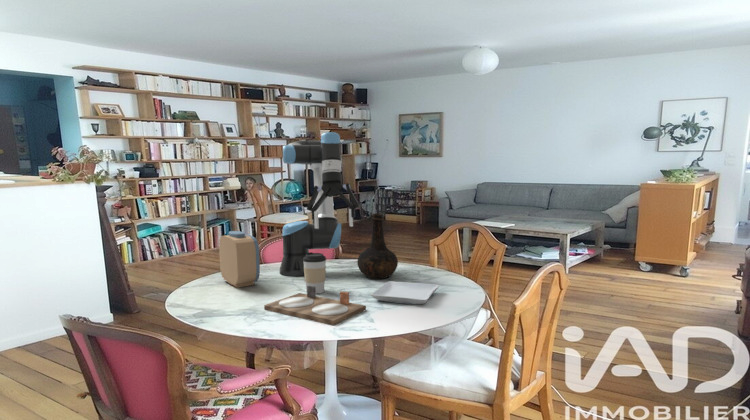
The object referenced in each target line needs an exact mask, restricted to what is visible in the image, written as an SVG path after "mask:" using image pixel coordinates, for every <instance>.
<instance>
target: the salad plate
mask: <svg viewBox="0 0 750 420" xmlns="http://www.w3.org/2000/svg"><path fill="white" fill-rule="evenodd" d="M439 287H440V284H433V283H423V282H422V283H421V282H420V283H419V282H407V281H405V282H404V281H391V280H388V281H387V282H385V283H383V284H382V285H381V286H379V287H378V288H377V289H376V290H374V291H373V292H372V293H370V296H371V297H372V298H373V299H375V300H378V301H381V302H389V303H396V304H397V303H398V304H407V305H422V304H423V305H424V304H425V303H427V301H428V300H429V298H431V296H432V295H433V294H434V292H436V291H437V290H438V289H439Z"/></svg>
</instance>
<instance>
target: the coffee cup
mask: <svg viewBox="0 0 750 420" xmlns="http://www.w3.org/2000/svg"><path fill="white" fill-rule="evenodd" d="M303 261H304V275H303V276H304V282H305V290H306V292H305V293H307V286H315V287H316V294H321V293H324V292H325V281H326V272H327V270H326V269H327V266H326V264H327V263H326V261H327V257H326V256H325V255H324V253H321V252H311V251H309V253H307V254H306V256H305V257H304V258H303Z"/></svg>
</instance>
